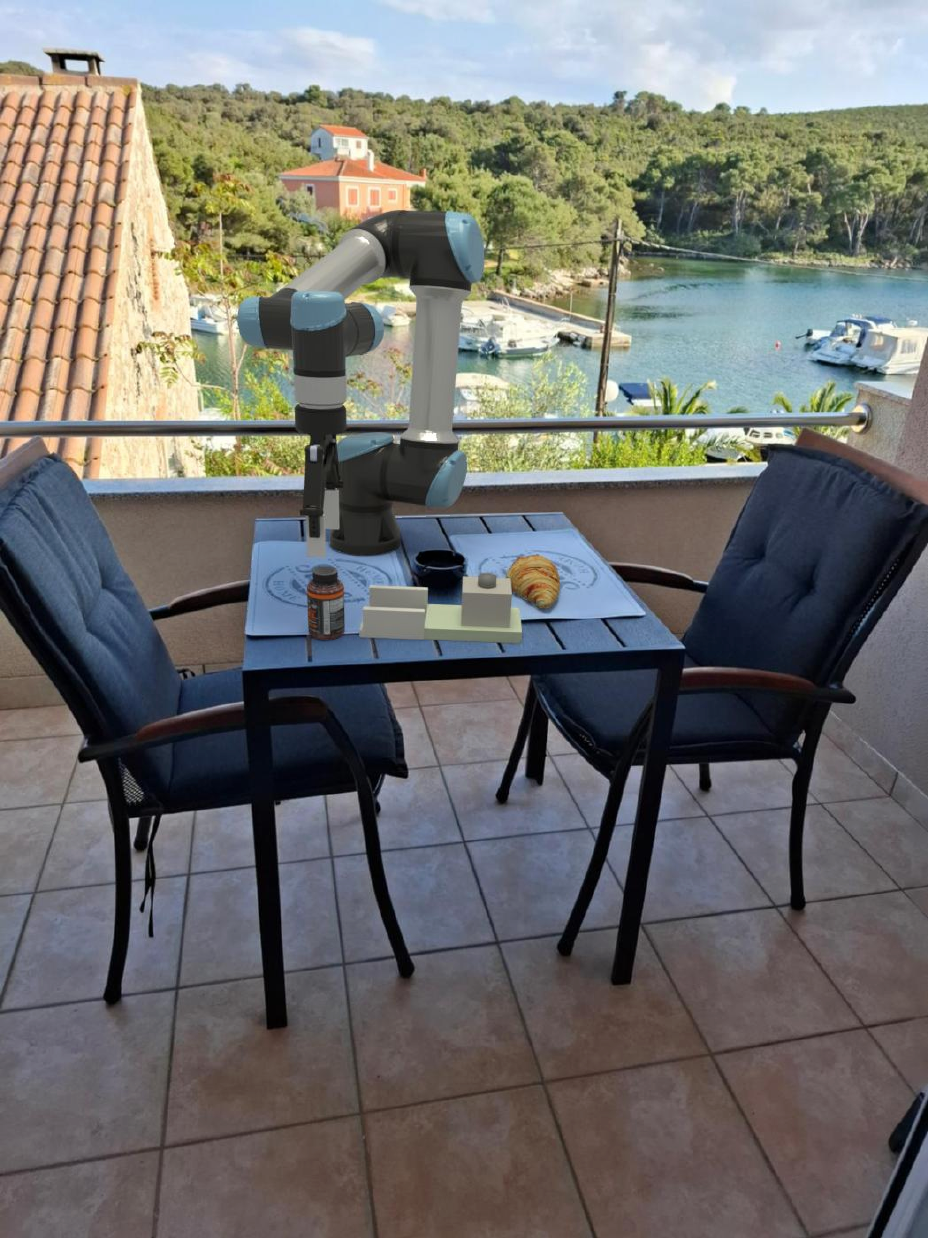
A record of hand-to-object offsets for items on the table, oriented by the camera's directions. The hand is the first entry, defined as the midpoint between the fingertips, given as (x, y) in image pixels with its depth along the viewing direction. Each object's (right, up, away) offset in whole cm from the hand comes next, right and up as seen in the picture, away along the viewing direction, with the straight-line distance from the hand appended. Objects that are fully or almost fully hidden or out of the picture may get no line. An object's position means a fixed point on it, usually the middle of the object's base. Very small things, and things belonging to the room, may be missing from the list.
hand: (324, 542), depth 131 cm
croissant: (+35, -7, +27) cm, 45 cm away
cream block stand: (+18, -13, +11) cm, 25 cm away
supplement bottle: (-1, -15, +7) cm, 16 cm away
